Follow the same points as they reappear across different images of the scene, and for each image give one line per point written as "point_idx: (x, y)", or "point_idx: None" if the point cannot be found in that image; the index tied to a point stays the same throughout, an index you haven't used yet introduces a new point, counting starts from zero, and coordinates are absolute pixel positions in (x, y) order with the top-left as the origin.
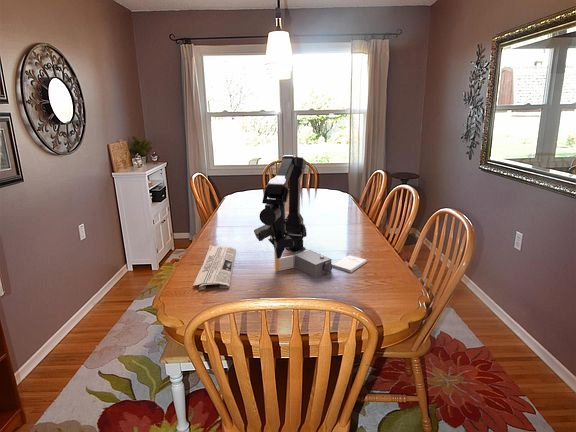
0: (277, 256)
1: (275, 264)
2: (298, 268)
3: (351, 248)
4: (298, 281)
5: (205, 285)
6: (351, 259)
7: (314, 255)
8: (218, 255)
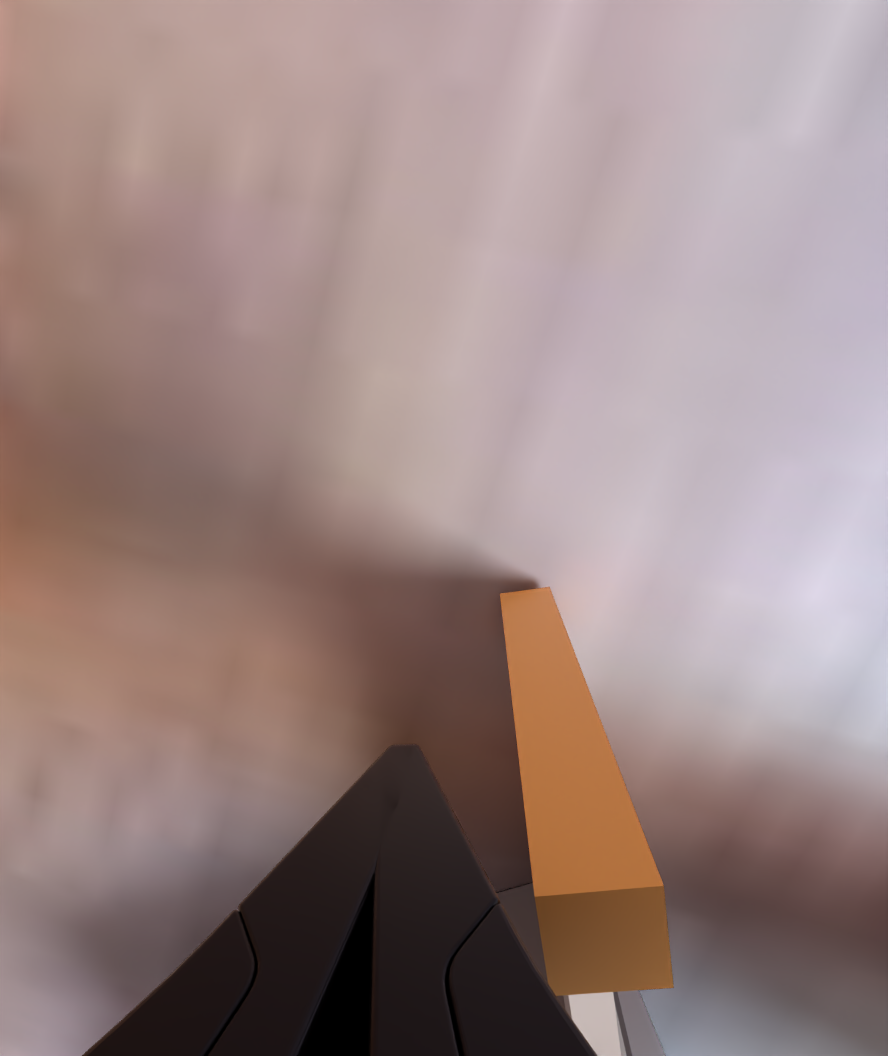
0: (359, 785)
1: (532, 636)
2: (504, 893)
3: None
4: (144, 775)
5: None
6: None
7: None
8: None
